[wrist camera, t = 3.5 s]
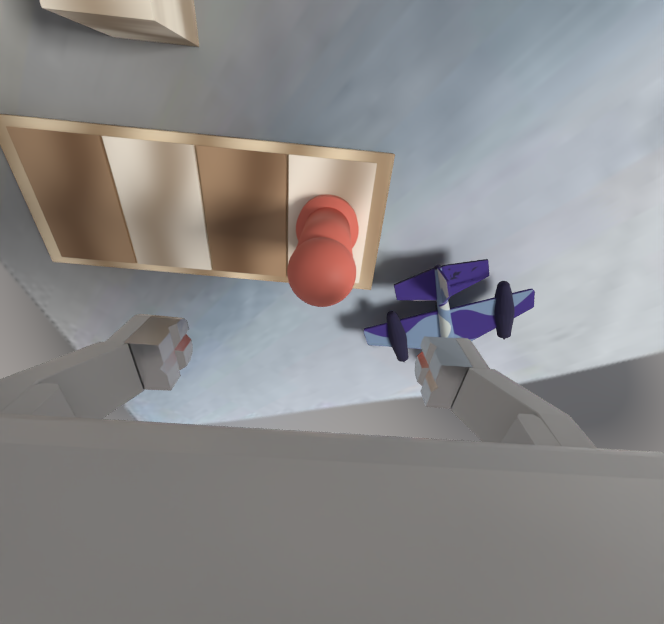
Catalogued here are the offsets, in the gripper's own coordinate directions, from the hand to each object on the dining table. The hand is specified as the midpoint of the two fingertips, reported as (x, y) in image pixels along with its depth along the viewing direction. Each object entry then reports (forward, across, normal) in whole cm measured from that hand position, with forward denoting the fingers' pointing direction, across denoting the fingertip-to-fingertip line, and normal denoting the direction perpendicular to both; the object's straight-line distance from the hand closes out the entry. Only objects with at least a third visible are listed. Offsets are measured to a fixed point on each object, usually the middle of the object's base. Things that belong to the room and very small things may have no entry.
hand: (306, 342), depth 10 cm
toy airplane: (+15, -12, +7) cm, 20 cm away
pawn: (+13, 0, -1) cm, 13 cm away
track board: (+15, +8, -1) cm, 17 cm away
